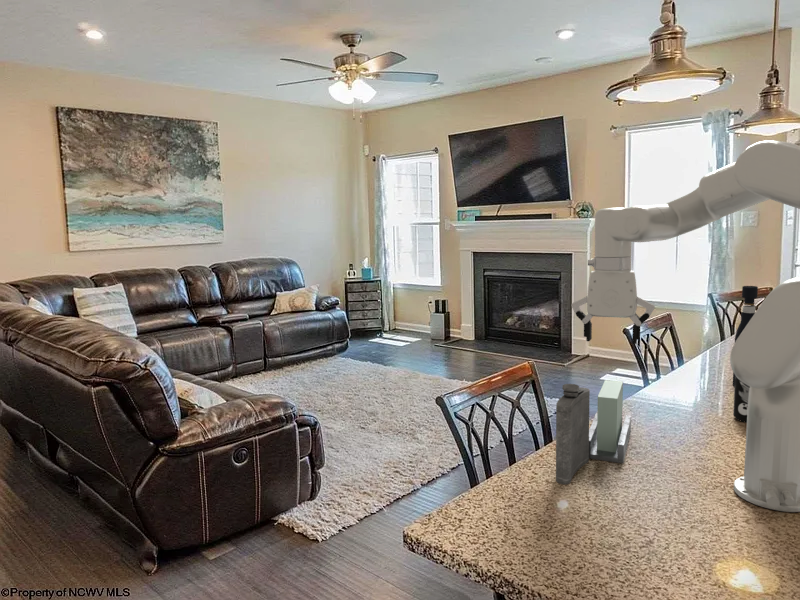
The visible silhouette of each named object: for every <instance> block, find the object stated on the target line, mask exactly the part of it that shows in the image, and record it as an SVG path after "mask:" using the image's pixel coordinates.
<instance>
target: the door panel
mask: <svg viewBox="0 0 800 600" xmlns="http://www.w3.org/2000/svg"><path fill="white" fill-rule="evenodd" d="M623 391H624V381H621V380H609V379H608V380H607V379H604V382H603V384H602V386H601V389H600V390H599V393H598V395H597V410H596V412H597V450H602V451H609V452H616V451H617V447H618V442H619V438H620V435H621V431H622V426H623V401H624V399H623V396H624V394H623Z"/></svg>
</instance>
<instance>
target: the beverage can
mask: <svg viewBox="0 0 800 600" xmlns="http://www.w3.org/2000/svg"><path fill="white" fill-rule="evenodd" d="M749 389H750V386H748V385H746V384H744V383H743V382H741V381H740V380H739V379H738V378H737V377H735V386H734V391H733V394H734V395H733V417H735V419H736V420H738V421H739V422H743V423H746V424H747V410H748V397H749Z"/></svg>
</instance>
